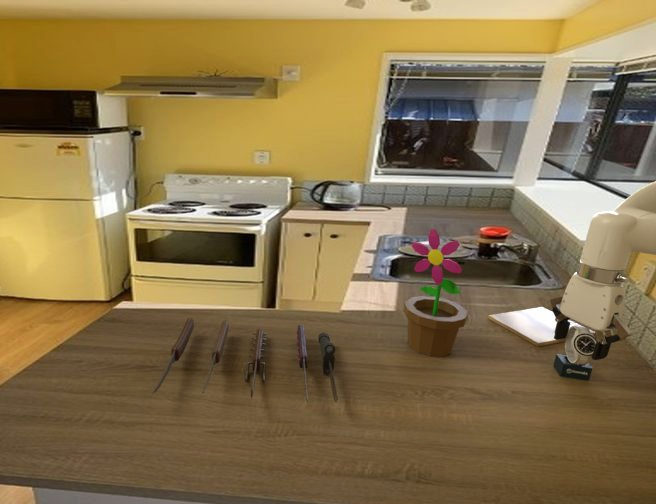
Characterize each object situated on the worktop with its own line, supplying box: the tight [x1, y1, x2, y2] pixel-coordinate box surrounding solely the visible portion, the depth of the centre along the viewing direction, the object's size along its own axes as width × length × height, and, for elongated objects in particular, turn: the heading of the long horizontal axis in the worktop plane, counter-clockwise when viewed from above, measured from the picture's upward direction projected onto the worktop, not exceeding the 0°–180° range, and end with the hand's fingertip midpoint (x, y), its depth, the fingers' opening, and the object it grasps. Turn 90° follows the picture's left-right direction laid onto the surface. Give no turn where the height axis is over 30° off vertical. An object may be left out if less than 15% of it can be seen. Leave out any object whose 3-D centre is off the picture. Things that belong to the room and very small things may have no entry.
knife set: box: [151, 317, 339, 404], centre depth 90 cm, size 35×33×8 cm
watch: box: [552, 326, 599, 381], centre depth 93 cm, size 6×8×11 cm
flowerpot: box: [403, 228, 469, 358], centre depth 100 cm, size 14×14×30 cm
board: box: [487, 306, 597, 347], centre depth 115 cm, size 20×16×1 cm
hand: (578, 347), depth 92 cm, fingers closed on watch, 8 cm apart
